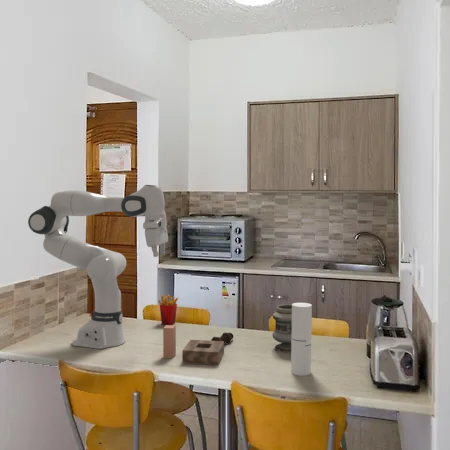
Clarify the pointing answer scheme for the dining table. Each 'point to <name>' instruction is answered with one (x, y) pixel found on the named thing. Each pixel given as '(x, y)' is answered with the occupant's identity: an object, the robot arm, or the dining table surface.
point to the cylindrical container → (301, 339)
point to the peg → (169, 341)
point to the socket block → (203, 352)
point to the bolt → (224, 338)
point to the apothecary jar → (283, 327)
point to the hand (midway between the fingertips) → (159, 255)
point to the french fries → (168, 310)
